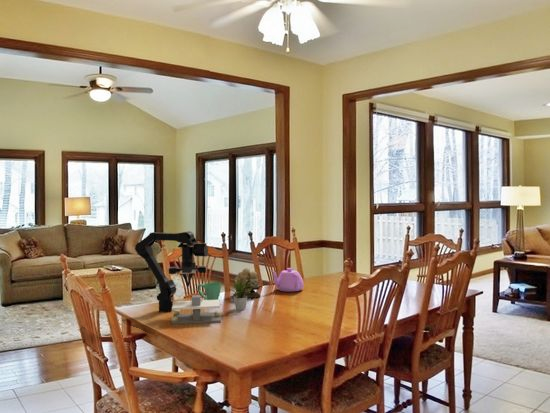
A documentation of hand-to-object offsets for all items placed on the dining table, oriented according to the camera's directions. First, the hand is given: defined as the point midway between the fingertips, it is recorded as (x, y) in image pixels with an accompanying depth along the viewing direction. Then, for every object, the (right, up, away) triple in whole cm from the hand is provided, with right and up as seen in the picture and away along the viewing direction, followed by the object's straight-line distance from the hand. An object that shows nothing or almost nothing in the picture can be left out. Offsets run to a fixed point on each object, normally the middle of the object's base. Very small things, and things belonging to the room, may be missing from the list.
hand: (188, 286), depth 245 cm
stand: (+7, -13, -14) cm, 20 cm away
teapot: (+52, -11, +51) cm, 74 cm away
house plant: (+27, -13, +4) cm, 30 cm away
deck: (+7, -7, -14) cm, 17 cm away
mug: (+8, -13, +23) cm, 28 cm away
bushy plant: (+28, -12, +36) cm, 47 cm away
